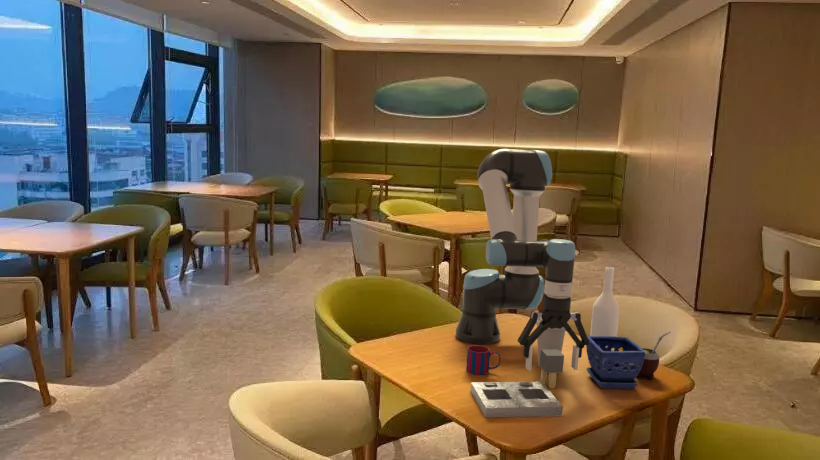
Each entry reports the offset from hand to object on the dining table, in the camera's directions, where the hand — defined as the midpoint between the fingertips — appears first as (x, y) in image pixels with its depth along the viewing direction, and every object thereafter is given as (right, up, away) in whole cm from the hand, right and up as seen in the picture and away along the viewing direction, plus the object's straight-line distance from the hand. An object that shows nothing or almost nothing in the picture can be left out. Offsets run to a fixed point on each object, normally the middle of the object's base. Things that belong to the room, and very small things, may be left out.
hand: (551, 368), depth 181 cm
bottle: (+21, -2, +23) cm, 31 cm away
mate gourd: (+31, -5, +11) cm, 33 cm away
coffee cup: (+3, -3, +16) cm, 17 cm away
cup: (-18, -3, +8) cm, 20 cm away
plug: (0, -5, +1) cm, 5 cm away
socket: (-12, -6, -13) cm, 19 cm away
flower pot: (+18, -5, +5) cm, 20 cm away
